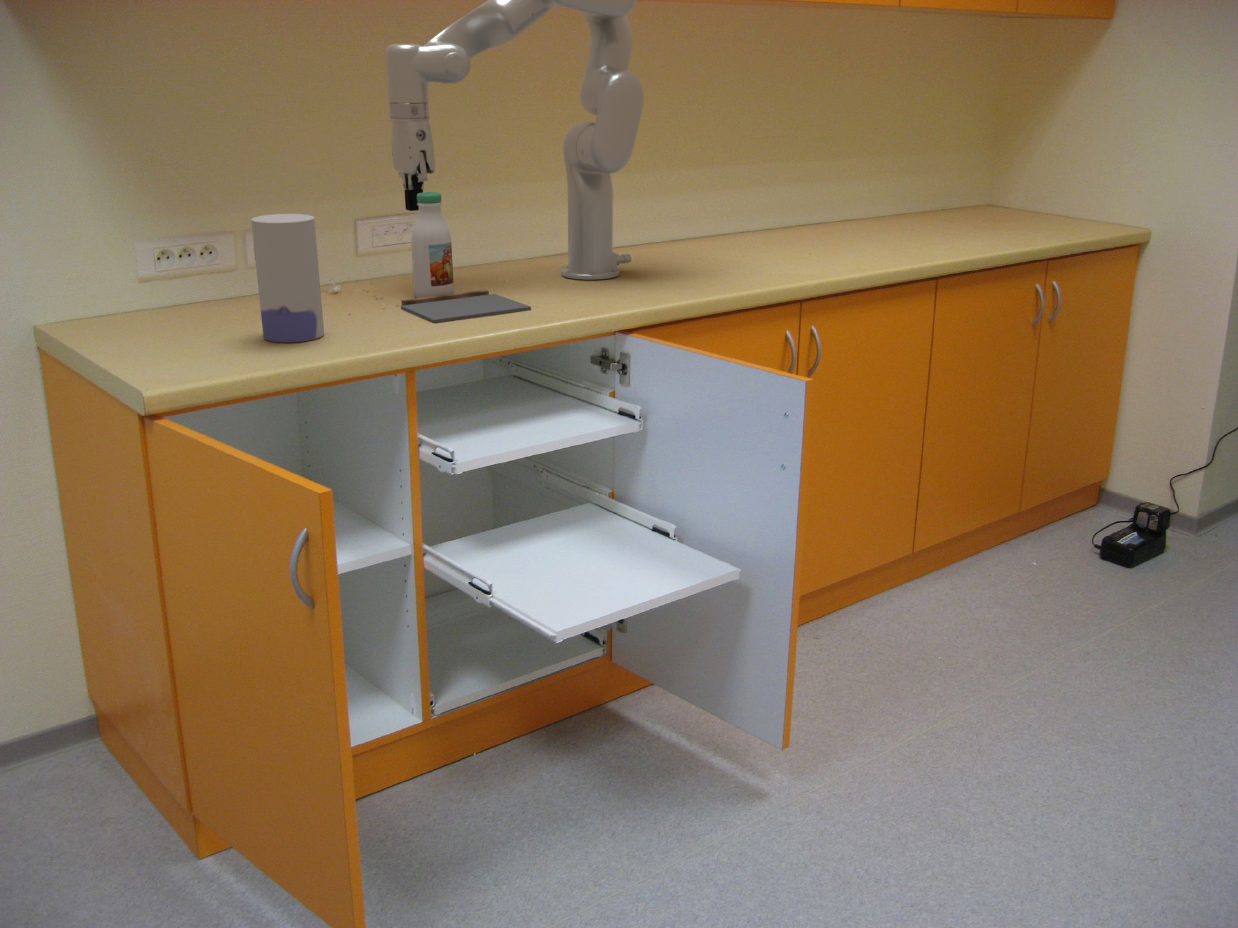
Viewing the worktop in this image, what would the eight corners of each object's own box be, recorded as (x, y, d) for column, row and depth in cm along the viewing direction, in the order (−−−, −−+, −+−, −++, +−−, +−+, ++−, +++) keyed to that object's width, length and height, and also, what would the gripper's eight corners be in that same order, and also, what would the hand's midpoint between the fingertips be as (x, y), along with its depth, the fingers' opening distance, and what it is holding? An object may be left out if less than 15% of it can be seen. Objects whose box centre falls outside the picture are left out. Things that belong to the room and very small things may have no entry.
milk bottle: (416, 302, 222) (410, 196, 215) (412, 294, 229) (406, 191, 222) (456, 300, 224) (451, 195, 217) (451, 292, 231) (446, 190, 224)
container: (329, 329, 201) (319, 213, 194) (317, 343, 191) (306, 221, 184) (271, 329, 200) (260, 213, 193) (256, 343, 191) (243, 221, 184)
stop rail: (485, 295, 228) (485, 289, 227) (488, 296, 227) (488, 290, 226) (401, 306, 218) (401, 300, 218) (404, 307, 217) (404, 301, 217)
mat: (495, 296, 227) (494, 293, 226) (531, 309, 216) (531, 306, 216) (401, 309, 216) (400, 305, 216) (434, 323, 205) (433, 320, 205)
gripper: (444, 114, 216) (449, 213, 222) (411, 110, 228) (416, 204, 234) (407, 115, 212) (413, 216, 218) (375, 111, 224) (381, 207, 230)
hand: (414, 210), depth 226 cm, fingers closed
